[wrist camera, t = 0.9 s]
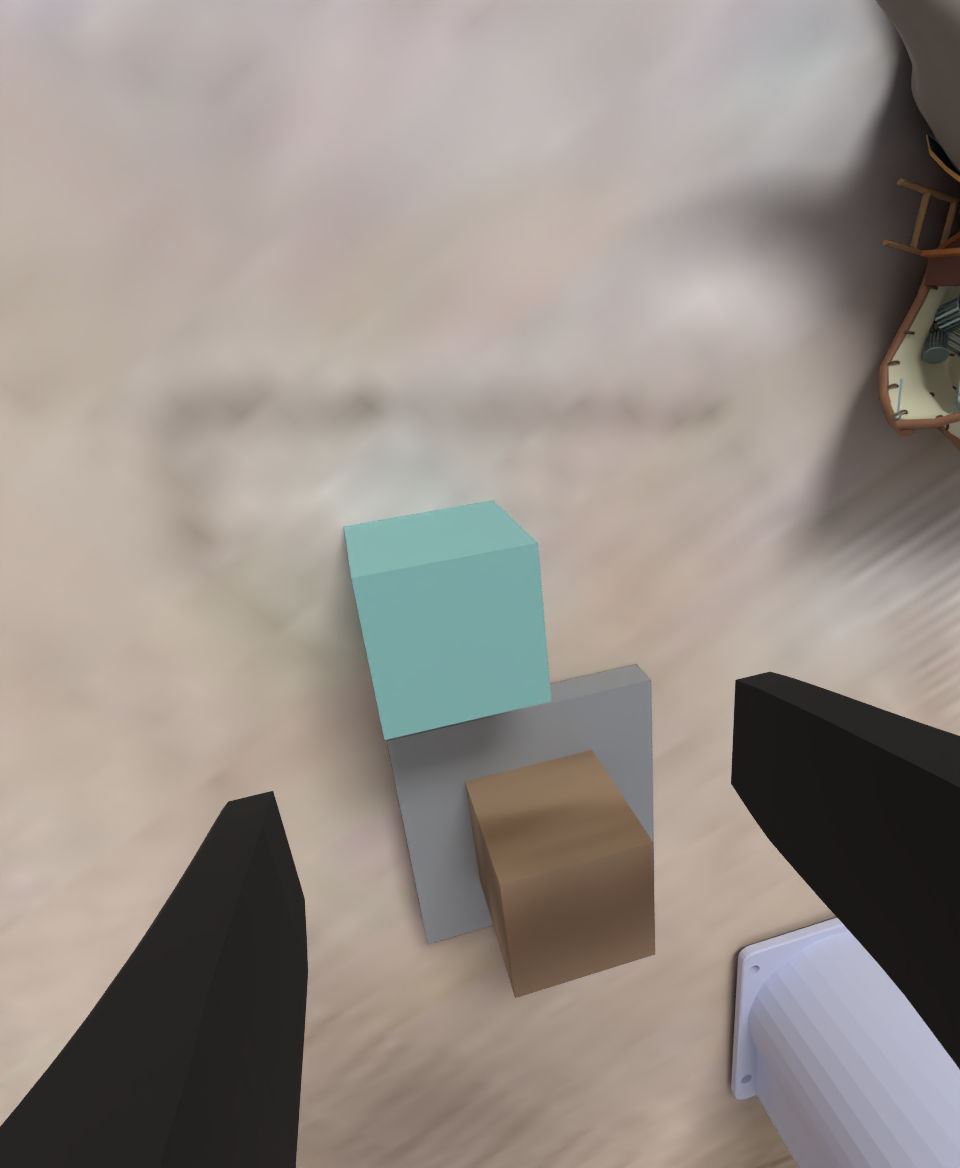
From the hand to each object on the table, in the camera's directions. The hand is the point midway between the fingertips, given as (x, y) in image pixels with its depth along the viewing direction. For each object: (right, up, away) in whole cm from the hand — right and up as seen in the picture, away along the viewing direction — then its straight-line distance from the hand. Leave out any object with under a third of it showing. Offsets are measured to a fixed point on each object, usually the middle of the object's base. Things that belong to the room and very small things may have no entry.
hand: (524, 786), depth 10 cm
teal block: (-2, +3, +8) cm, 9 cm away
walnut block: (+1, -4, +11) cm, 11 cm away
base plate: (+1, -4, +11) cm, 12 cm away
